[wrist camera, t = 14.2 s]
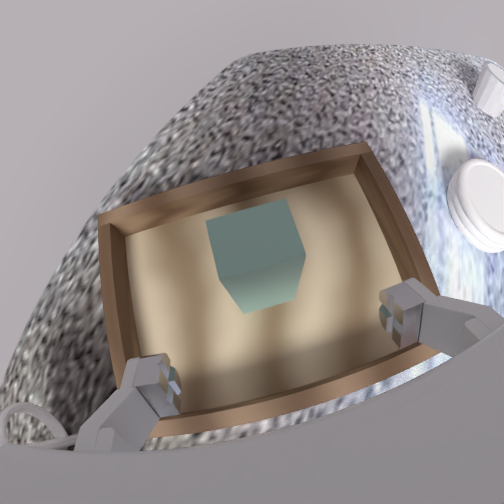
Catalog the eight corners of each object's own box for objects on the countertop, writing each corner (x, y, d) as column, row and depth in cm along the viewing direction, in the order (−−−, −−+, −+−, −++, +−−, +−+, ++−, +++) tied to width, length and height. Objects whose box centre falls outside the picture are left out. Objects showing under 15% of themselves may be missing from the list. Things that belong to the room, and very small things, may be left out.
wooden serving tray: (151, 429, 20) (130, 439, 17) (118, 233, 27) (97, 215, 23) (431, 348, 21) (455, 344, 17) (357, 167, 27) (366, 141, 24)
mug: (57, 492, 17) (-12, 516, 7) (54, 397, 21) (-31, 396, 11) (143, 531, 16) (86, 584, 6) (143, 430, 20) (63, 461, 10)
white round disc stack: (445, 161, 27) (457, 142, 24) (506, 193, 25) (521, 178, 22) (442, 236, 24) (460, 220, 21) (510, 266, 22) (529, 255, 19)
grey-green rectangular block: (243, 314, 22) (219, 279, 13) (233, 277, 23) (205, 220, 14) (294, 299, 22) (306, 254, 13) (282, 263, 23) (285, 198, 14)
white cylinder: (508, 119, 30) (525, 91, 23) (488, 121, 29) (507, 90, 23) (483, 90, 32) (497, 62, 26) (461, 90, 32) (476, 58, 25)
